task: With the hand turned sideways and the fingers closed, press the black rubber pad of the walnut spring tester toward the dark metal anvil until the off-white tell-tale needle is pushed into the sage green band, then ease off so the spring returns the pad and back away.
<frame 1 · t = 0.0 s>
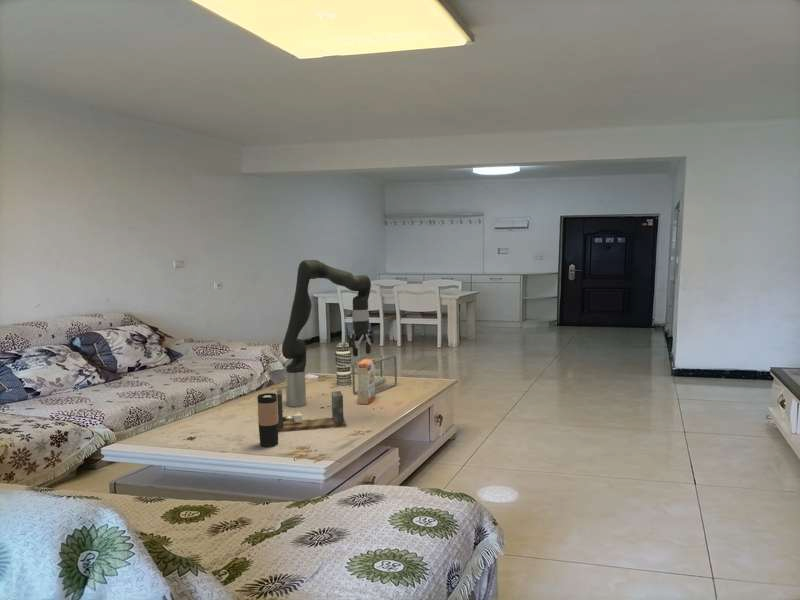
hand: (361, 354, 276), 29 cm above the table, tool pointing down, fingers open, 8 cm apart
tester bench: (308, 426, 267), on the table
cracker box: (367, 401, 310), on the table
decorative candle: (344, 386, 347), on the table
plunger: (285, 407, 265), point 9 cm above the table, slide at 0.0 cm
tell-tale needle: (298, 416, 268), point 4 cm above the table, slide at 0.0 cm
newton's cradle: (375, 390, 335), on the table
travel mug: (269, 445, 242), on the table
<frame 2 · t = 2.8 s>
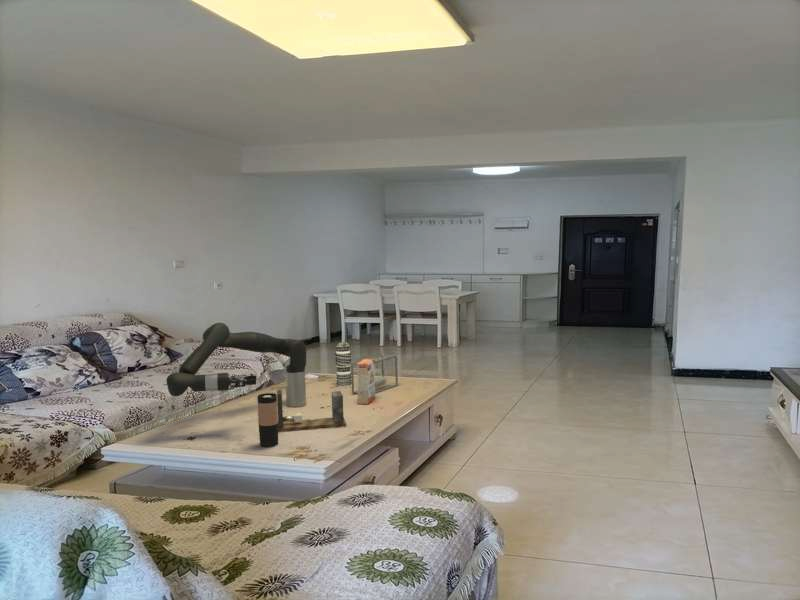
hand: (256, 379, 261), 22 cm above the table, tool horizontal, fingers open, 8 cm apart
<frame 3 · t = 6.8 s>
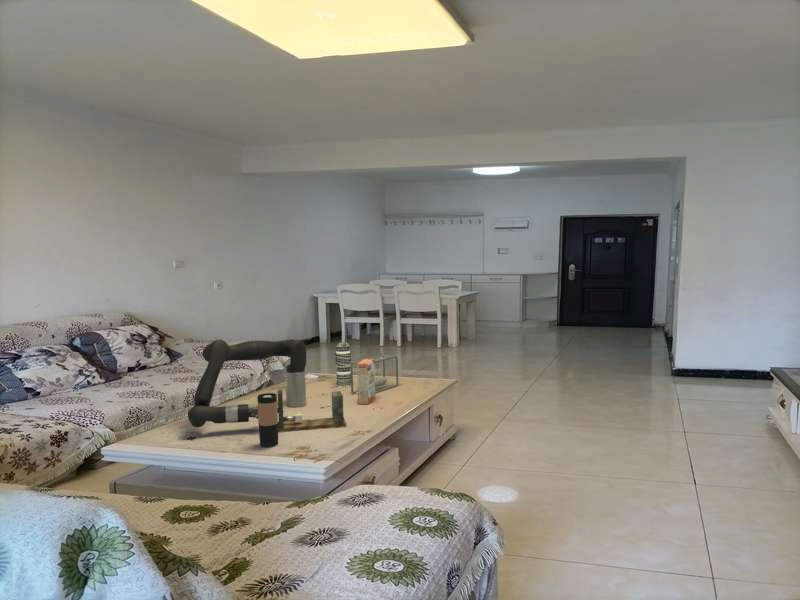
hand: (278, 410, 264), 8 cm above the table, tool horizontal, fingers closed
plunger: (286, 407, 265), point 9 cm above the table, slide at 0.2 cm, touching gripper
everything else where it was.
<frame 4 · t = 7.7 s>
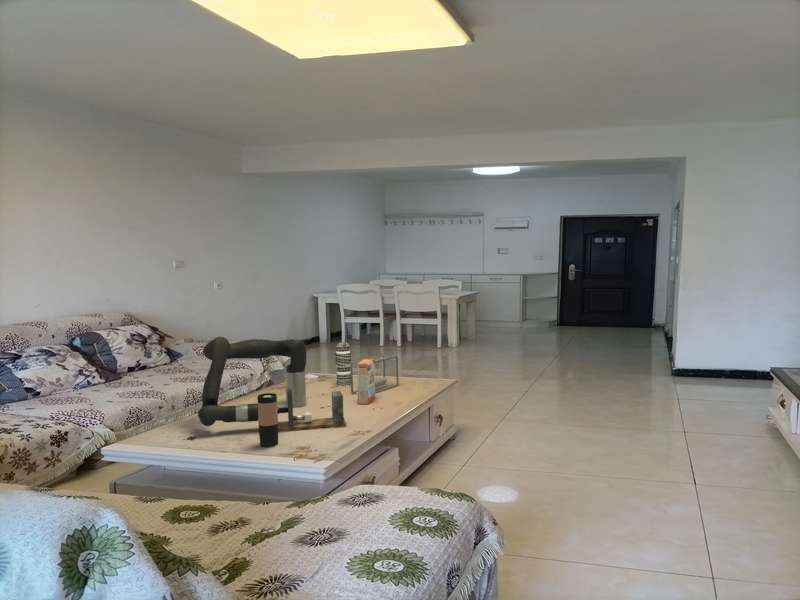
hand: (287, 409, 265), 8 cm above the table, tool horizontal, fingers closed
plunger: (296, 406, 265), point 9 cm above the table, slide at 4.4 cm, touching gripper, tell-tale needle
tell-tale needle: (307, 416, 269), point 4 cm above the table, slide at 4.1 cm, touching plunger
everything else where it was.
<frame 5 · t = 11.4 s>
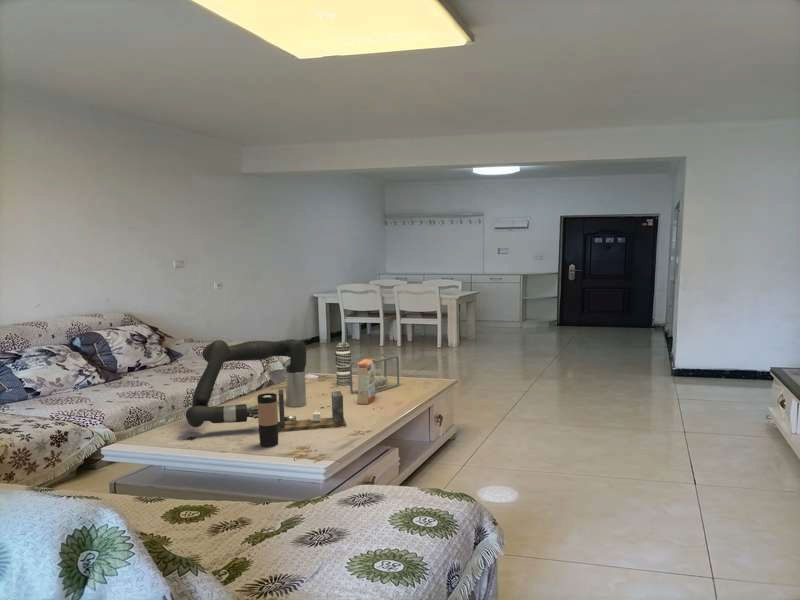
hand: (276, 410, 264), 8 cm above the table, tool horizontal, fingers closed
plunger: (287, 407, 265), point 9 cm above the table, slide at 0.7 cm
tell-tale needle: (316, 415, 270), point 4 cm above the table, slide at 7.9 cm
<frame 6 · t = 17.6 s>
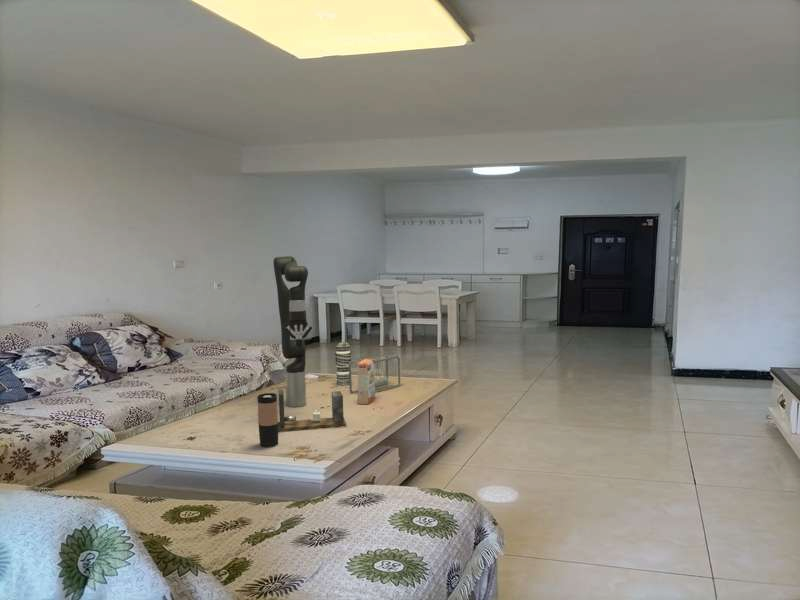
hand: (299, 347, 279), 33 cm above the table, tool pointing down, fingers closed
at the end: tell-tale needle slide at 7.9 cm; plunger slide at 0.7 cm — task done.
